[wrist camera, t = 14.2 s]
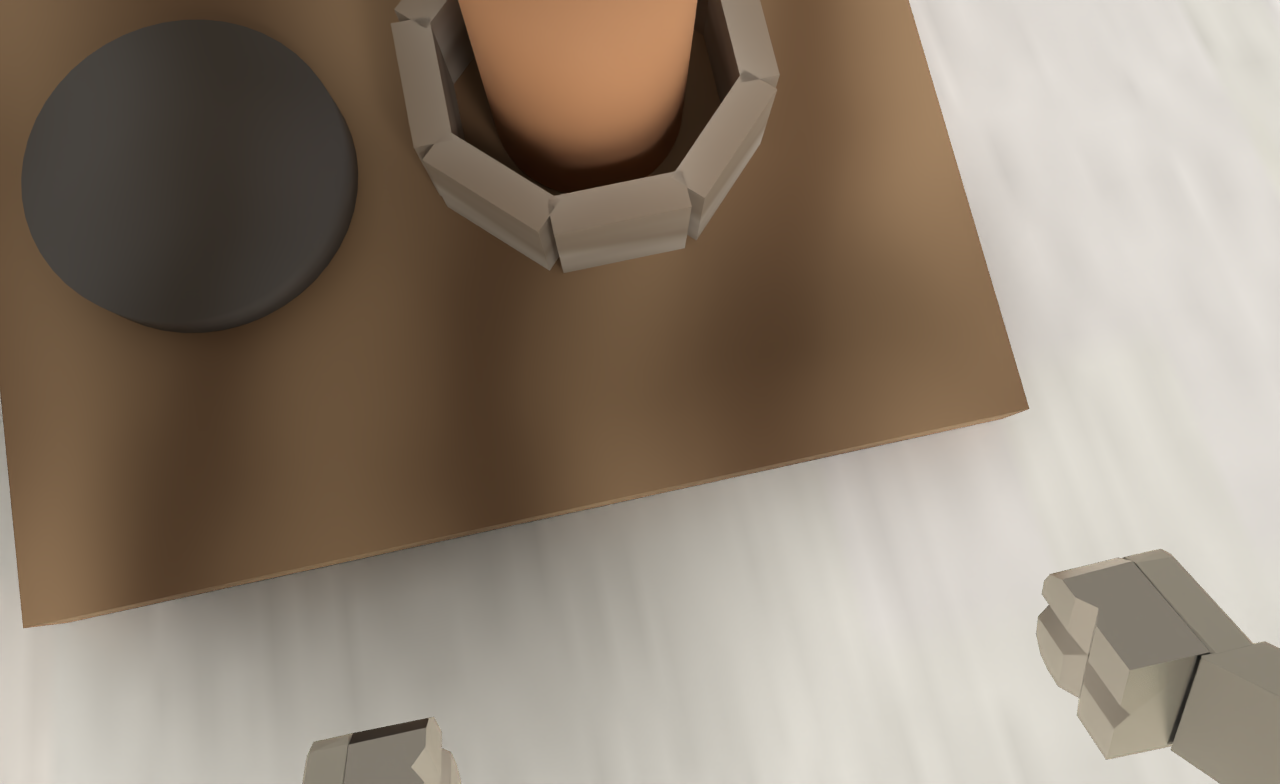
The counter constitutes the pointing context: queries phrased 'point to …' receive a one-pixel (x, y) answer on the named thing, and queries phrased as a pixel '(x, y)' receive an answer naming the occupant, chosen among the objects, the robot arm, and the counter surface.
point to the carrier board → (446, 285)
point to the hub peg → (583, 84)
